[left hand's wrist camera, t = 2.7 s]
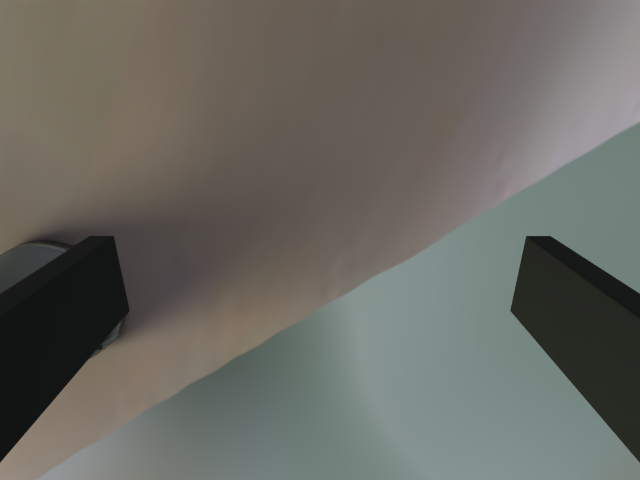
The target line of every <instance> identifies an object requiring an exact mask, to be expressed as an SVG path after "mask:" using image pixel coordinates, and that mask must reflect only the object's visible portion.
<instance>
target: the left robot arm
mask: <svg viewBox="0 0 640 480" xmlns="http://www.w3.org/2000/svg"><path fill="white" fill-rule="evenodd" d="M129 311H130V310H129V306H128V301H127V296H126V292H125V287H124V282H123V278H122V273H121V268H120V264H119V259H118V254H117V250H116V245H115V240H114V236H89V237H88V238H86V239H84V240H83V241H81V242H80V243H78V244H77V245H75V246H74V247H72V246H70V245H67V244H63V243H59V242H52V241H34V242H28V243H24V244H21V245H19V246H17V247H15V248H13V249H11V250H9V251H7V252H5V253H3V254H2V255H0V462H1V461H2V460H3V459H4V457H5V456H6V455H7V454H8V453H9V452H10V450H11V449H12V448H13V447H14V446H15V445H16V443H17V442H18V441H19V440H20V439H21V437H22V436H23V435H24V434H25V433H26V432H27V430H28V429H29V428H30V427H31V426H32V425H33V423H34V422H35V421H36V420H37V419H38V418H39V416H40V415H41V414H42V413H43V412H44V411H45V409H46V408H47V407H48V406H49V405H50V404H51V402H52V401H53V400H54V399H55V398H56V396H57V395H58V394H59V393H60V392H61V391H62V389H63V388H64V387H65V386H66V385H67V384H68V382H69V381H70V380H71V379H72V378H73V377H74V375H75V374H76V373H77V372H78V371H79V370H80V368H81V367H82V366H83V365H84V364H85V362H86V361H87V360H88V359H90V358H92V357H93V356H95V355H97V354H98V353H100V352H101V351H102V350H103V349H105V348H106V347H107V346H108V345H109V344H110V343H111V342H112V341H114V340H115V339H116V337H117V336H118V335H119V334H120V333H119V331H120V329H121V327H122V325H123V322H124V318H125V316H126V314H127V313H128V312H129ZM511 312H512V313H513V314H514V316H515V317H516V318H517V319H518V320H519V321H520V323H521V324H522V325H523V326H524V327H525V328H526V330H527V331H528V332H529V333H530V334H531V336H532V337H533V338H534V339H535V340H536V341H537V343H538V344H539V345H540V346H541V347H542V348H543V350H544V351H545V352H546V353H547V354H548V355H549V357H550V358H551V359H552V360H553V361H554V362H555V364H556V365H557V366H558V367H559V368H560V370H561V371H562V372H563V373H564V374H565V375H566V377H567V378H568V379H569V380H570V381H571V382H572V384H573V385H574V386H575V387H576V388H577V389H578V391H579V392H580V393H581V394H582V395H583V396H584V398H585V399H586V400H587V401H588V402H589V404H590V405H591V406H592V407H593V408H594V409H595V410H596V412H597V413H598V414H599V415H600V416H601V417H602V419H603V420H604V421H605V422H606V423H607V425H608V426H609V427H610V428H611V429H612V430H613V432H614V433H615V434H616V435H617V436H618V437H619V439H620V440H621V441H622V442H623V443H624V445H625V446H626V447H627V448H628V449H629V450H630V452H631V453H632V454H633V455H634V456H635V457H636V459H637V460H638V461H639V462H640V294H639V293H638V292H636V291H635V290H633V289H632V288H630V287H628V286H627V285H625V284H624V283H622V282H621V281H619V280H618V279H616V278H614V277H613V276H611V275H610V274H608V273H607V272H605V271H604V270H602V269H601V268H599V267H597V266H596V265H594V264H593V263H591V262H590V261H588V260H587V259H585V258H583V257H582V256H580V255H579V254H577V253H576V252H574V251H573V250H571V249H570V248H568V247H566V246H565V245H563V244H562V243H560V242H559V241H557V240H556V239H554V238H552V237H551V236H526V240H525V245H524V250H523V254H522V259H521V264H520V268H519V273H518V278H517V282H516V287H515V292H514V296H513V301H512V306H511ZM118 333H119V334H118Z"/></svg>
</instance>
